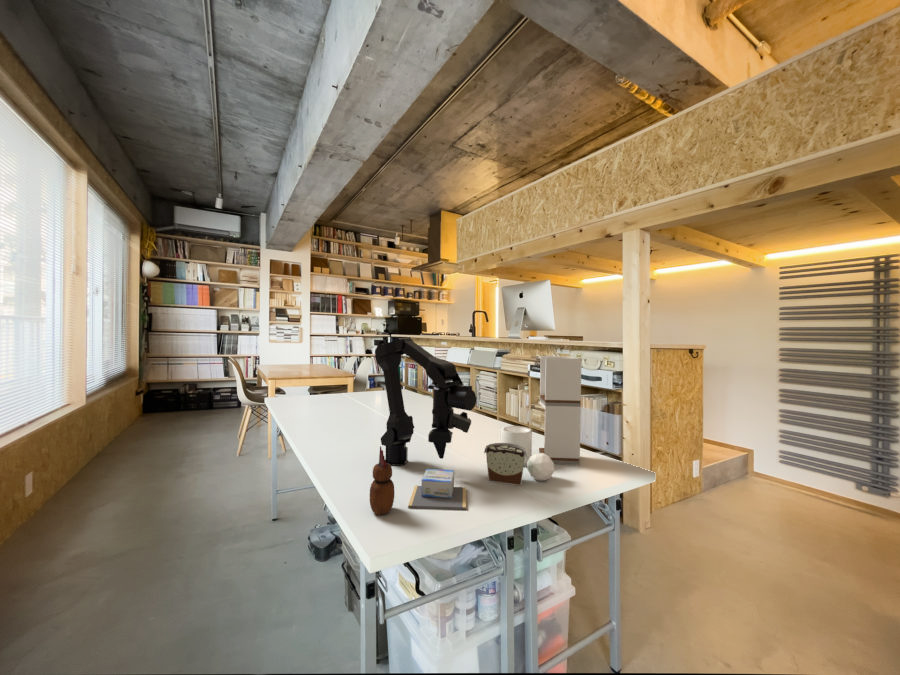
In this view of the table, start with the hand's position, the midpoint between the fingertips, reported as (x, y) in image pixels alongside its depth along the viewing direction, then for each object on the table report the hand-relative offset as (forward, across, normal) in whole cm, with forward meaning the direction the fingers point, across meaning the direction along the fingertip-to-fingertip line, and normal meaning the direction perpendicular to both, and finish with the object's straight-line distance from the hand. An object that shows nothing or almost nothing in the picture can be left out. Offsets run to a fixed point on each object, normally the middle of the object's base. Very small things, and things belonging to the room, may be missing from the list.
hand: (441, 458), depth 111 cm
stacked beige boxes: (+6, +21, -39) cm, 44 cm away
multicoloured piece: (+6, 0, -19) cm, 20 cm away
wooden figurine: (+6, -22, +12) cm, 26 cm away
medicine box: (+3, -6, 0) cm, 7 cm away
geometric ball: (+6, +2, -29) cm, 30 cm away
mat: (+6, -14, 0) cm, 15 cm away
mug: (+6, +18, -24) cm, 31 cm away
